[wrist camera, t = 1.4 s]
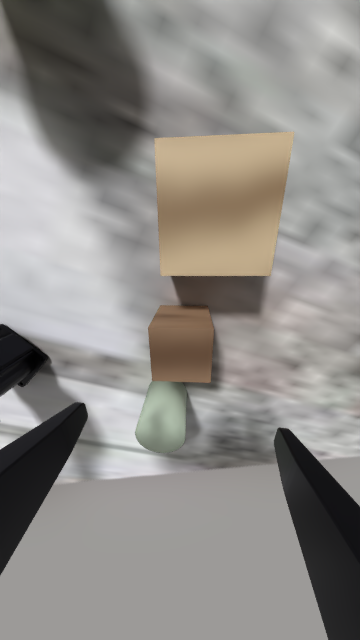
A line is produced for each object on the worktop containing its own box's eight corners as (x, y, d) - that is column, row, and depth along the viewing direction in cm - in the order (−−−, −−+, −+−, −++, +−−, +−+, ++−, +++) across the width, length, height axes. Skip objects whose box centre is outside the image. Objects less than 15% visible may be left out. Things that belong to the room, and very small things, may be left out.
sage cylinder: (168, 412, 25) (161, 459, 20) (140, 391, 24) (125, 434, 19) (194, 393, 24) (195, 437, 18) (166, 369, 23) (158, 409, 17)
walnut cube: (205, 347, 21) (210, 382, 16) (162, 346, 22) (152, 380, 16) (207, 305, 19) (213, 328, 14) (160, 305, 20) (148, 327, 14)
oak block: (250, 268, 18) (270, 275, 13) (168, 268, 18) (160, 275, 14) (262, 167, 15) (294, 131, 10) (165, 171, 16) (154, 138, 11)
